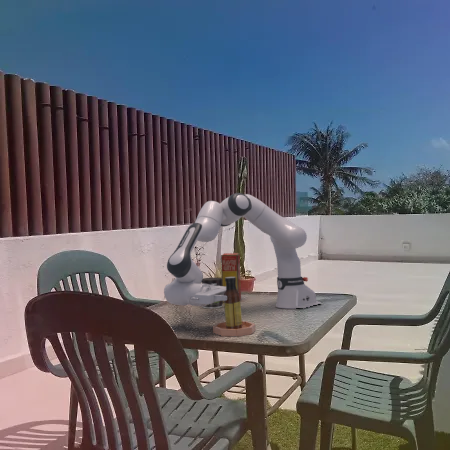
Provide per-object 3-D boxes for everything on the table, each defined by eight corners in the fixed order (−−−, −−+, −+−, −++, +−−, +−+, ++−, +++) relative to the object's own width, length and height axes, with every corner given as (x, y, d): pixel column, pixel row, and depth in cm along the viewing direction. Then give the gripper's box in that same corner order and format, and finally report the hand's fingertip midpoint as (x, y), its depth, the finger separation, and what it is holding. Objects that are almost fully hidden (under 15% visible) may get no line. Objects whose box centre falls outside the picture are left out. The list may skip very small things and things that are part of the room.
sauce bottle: (241, 326, 187) (239, 275, 187) (242, 330, 181) (240, 277, 181) (224, 327, 187) (222, 276, 187) (225, 331, 181) (223, 278, 181)
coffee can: (225, 307, 237) (224, 278, 237) (204, 309, 234) (203, 280, 234) (220, 304, 247) (218, 276, 247) (200, 306, 244) (199, 278, 244)
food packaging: (239, 303, 249) (237, 254, 249) (221, 303, 250) (219, 255, 250) (241, 298, 262) (240, 252, 262) (224, 299, 263) (222, 253, 263)
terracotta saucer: (241, 325, 194) (241, 319, 194) (261, 332, 181) (261, 325, 181) (208, 330, 187) (207, 324, 187) (226, 338, 174) (226, 331, 174)
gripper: (187, 290, 181) (220, 291, 175) (212, 283, 199) (243, 284, 193) (187, 307, 181) (220, 309, 175) (213, 298, 199) (244, 300, 193)
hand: (232, 296), depth 184 cm, fingers open, 8 cm apart
